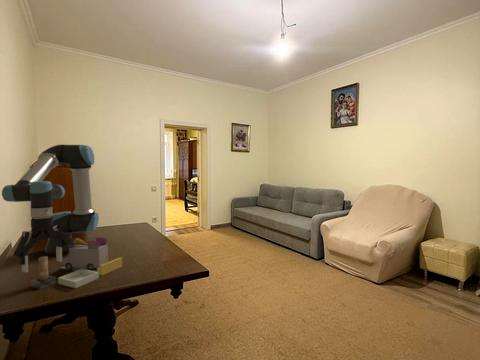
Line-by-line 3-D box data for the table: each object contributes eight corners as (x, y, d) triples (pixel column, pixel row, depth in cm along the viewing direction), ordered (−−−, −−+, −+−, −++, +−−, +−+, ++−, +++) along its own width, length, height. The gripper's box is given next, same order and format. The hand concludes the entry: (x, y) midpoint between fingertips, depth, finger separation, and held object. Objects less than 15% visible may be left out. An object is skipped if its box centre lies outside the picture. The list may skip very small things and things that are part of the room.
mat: (61, 268, 130) (61, 267, 130) (86, 259, 143) (86, 258, 143) (98, 276, 121) (98, 275, 121) (122, 266, 134) (122, 265, 134)
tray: (58, 284, 112) (58, 277, 112) (82, 274, 123) (81, 268, 123) (75, 289, 108) (75, 282, 108) (98, 278, 119) (98, 272, 118)
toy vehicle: (73, 264, 135) (73, 235, 134) (109, 265, 134) (109, 236, 133) (60, 271, 126) (59, 240, 125) (99, 272, 125) (98, 241, 124)
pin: (37, 285, 111) (36, 258, 111) (45, 282, 114) (44, 255, 114) (42, 286, 110) (41, 259, 110) (50, 283, 113) (49, 256, 112)
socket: (31, 286, 110) (30, 280, 110) (47, 280, 116) (46, 275, 116) (40, 289, 108) (40, 283, 108) (56, 282, 114) (56, 277, 114)
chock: (97, 274, 122) (97, 265, 122) (117, 265, 133) (117, 257, 133) (101, 275, 121) (101, 266, 121) (122, 266, 132) (122, 257, 132)
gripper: (12, 223, 98) (14, 278, 99) (76, 213, 121) (76, 258, 122) (1, 221, 101) (2, 275, 101) (65, 212, 124) (66, 256, 125)
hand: (43, 266), depth 112 cm, fingers open, 13 cm apart
